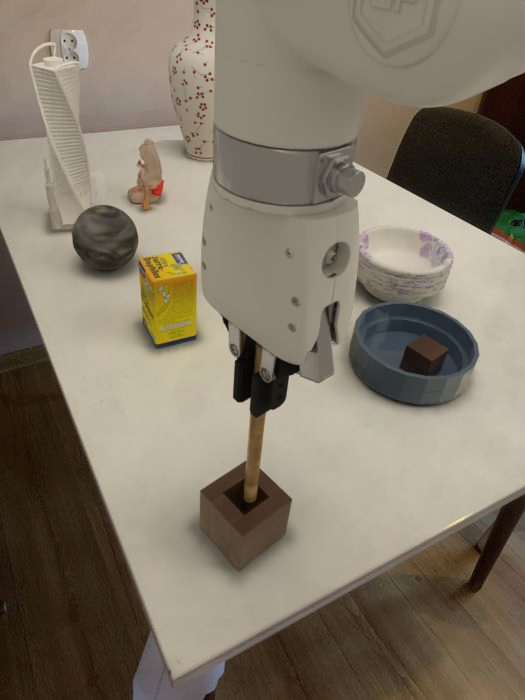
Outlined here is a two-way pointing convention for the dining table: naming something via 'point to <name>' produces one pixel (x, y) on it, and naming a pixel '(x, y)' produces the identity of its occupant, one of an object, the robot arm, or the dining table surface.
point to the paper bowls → (402, 263)
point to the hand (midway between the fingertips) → (259, 399)
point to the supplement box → (168, 298)
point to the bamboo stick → (254, 444)
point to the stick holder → (243, 530)
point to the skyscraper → (62, 139)
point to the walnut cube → (424, 356)
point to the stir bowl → (390, 343)
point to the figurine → (147, 177)
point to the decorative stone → (105, 237)
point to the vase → (195, 81)
